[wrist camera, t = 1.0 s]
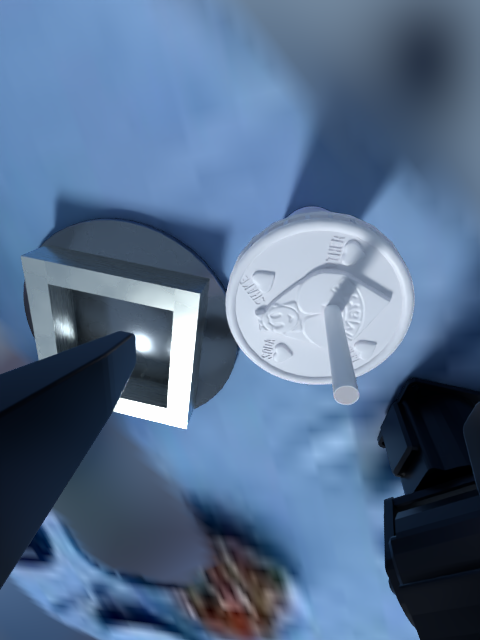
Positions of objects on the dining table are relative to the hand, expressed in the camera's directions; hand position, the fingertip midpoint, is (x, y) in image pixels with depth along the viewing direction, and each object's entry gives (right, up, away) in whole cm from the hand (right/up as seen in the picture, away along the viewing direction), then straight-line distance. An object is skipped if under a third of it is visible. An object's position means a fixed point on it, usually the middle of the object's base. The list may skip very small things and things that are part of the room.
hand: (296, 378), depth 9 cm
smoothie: (+3, +6, +11) cm, 13 cm away
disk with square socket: (-9, +1, +16) cm, 19 cm away
